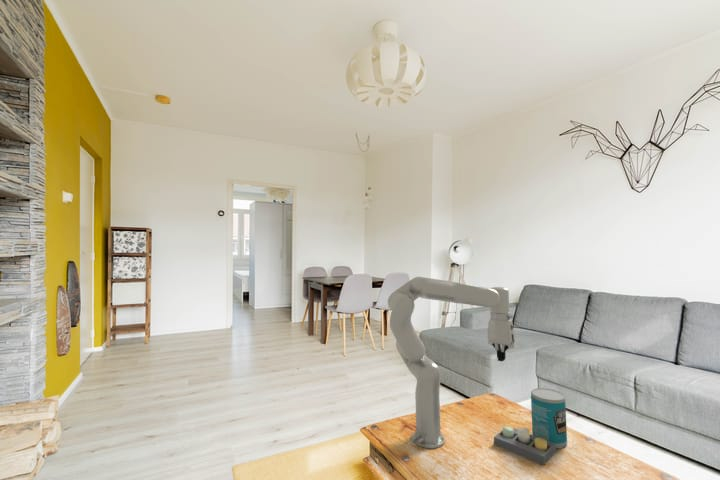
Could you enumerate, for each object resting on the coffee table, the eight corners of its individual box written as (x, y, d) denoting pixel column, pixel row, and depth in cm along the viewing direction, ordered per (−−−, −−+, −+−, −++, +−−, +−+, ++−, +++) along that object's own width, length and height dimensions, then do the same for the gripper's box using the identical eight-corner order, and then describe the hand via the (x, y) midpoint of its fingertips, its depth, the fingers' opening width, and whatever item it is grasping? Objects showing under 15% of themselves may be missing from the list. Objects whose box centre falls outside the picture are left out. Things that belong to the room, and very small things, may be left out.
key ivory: (527, 444, 127) (527, 433, 127) (516, 440, 130) (516, 429, 130) (531, 440, 130) (531, 429, 130) (520, 436, 133) (520, 426, 133)
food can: (531, 430, 143) (529, 386, 144) (564, 435, 138) (562, 390, 139) (533, 444, 132) (531, 397, 133) (569, 451, 127) (567, 402, 128)
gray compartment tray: (544, 465, 119) (543, 456, 120) (494, 445, 132) (493, 437, 133) (555, 451, 128) (555, 443, 128) (507, 433, 141) (507, 426, 141)
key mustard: (545, 456, 123) (544, 444, 123) (533, 451, 126) (532, 440, 126) (548, 451, 126) (548, 440, 126) (537, 447, 129) (536, 436, 129)
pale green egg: (511, 443, 132) (511, 432, 132) (501, 439, 135) (500, 428, 135) (515, 439, 134) (515, 428, 135) (505, 435, 137) (505, 425, 137)
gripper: (521, 317, 142) (523, 362, 141) (487, 313, 153) (488, 355, 152) (514, 320, 137) (515, 366, 136) (479, 315, 148) (480, 358, 147)
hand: (501, 360), depth 144 cm, fingers closed
